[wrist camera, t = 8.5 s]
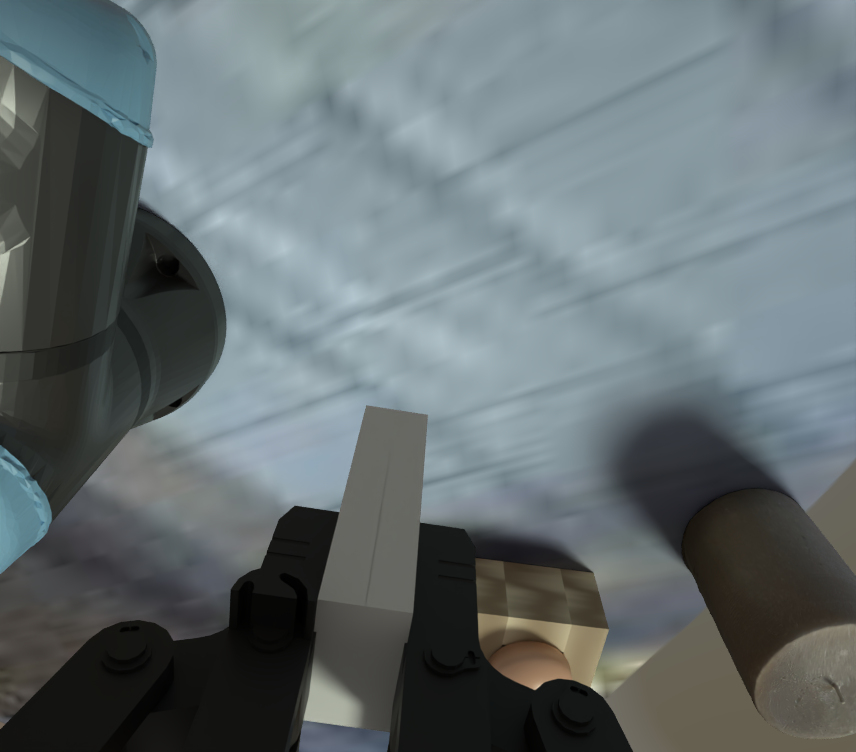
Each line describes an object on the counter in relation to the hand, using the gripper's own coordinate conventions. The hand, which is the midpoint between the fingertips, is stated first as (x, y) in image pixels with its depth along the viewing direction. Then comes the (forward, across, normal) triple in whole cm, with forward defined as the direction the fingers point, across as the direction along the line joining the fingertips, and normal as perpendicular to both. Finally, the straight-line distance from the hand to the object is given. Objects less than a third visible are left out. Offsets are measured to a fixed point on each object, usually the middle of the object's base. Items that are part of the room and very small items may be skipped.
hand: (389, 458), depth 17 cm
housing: (+29, +12, -31) cm, 45 cm away
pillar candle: (+30, +28, -21) cm, 46 cm away
